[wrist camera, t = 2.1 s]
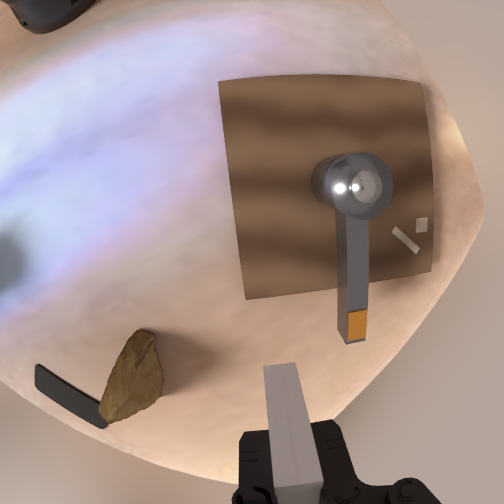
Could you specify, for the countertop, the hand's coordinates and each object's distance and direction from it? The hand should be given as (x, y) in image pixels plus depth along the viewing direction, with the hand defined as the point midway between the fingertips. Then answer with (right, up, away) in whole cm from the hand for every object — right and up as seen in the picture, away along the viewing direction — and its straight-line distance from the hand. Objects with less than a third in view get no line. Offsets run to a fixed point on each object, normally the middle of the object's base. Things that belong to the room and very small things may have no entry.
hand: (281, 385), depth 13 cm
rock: (-15, -8, +22) cm, 28 cm away
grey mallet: (+7, +7, +15) cm, 18 cm away
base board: (+8, +14, +16) cm, 22 cm away
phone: (-32, -18, +24) cm, 44 cm away
